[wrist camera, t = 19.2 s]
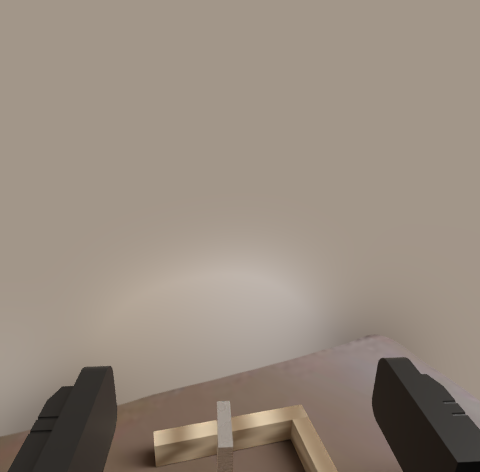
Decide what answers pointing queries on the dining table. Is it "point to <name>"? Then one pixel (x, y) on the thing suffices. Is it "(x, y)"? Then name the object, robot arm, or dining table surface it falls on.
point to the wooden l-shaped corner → (246, 438)
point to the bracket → (224, 437)
